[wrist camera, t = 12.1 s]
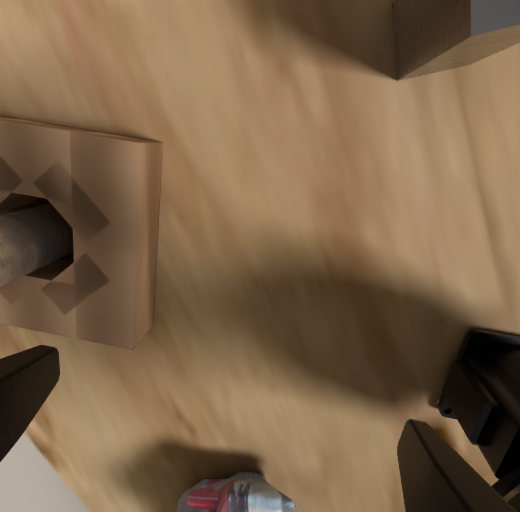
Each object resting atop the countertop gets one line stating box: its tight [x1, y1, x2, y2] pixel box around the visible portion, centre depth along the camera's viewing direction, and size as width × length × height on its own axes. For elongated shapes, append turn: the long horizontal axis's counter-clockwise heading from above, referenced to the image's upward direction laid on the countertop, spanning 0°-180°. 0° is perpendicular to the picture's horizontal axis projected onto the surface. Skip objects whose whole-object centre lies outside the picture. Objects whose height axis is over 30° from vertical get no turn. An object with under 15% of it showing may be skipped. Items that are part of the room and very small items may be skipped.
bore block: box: [0, 116, 163, 350], centre depth 21 cm, size 12×12×3 cm
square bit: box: [392, 0, 520, 81], centre depth 13 cm, size 3×3×8 cm
